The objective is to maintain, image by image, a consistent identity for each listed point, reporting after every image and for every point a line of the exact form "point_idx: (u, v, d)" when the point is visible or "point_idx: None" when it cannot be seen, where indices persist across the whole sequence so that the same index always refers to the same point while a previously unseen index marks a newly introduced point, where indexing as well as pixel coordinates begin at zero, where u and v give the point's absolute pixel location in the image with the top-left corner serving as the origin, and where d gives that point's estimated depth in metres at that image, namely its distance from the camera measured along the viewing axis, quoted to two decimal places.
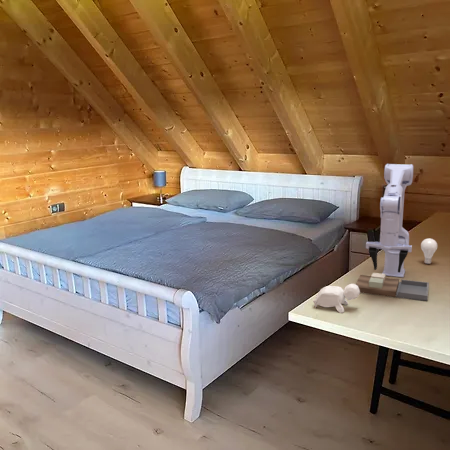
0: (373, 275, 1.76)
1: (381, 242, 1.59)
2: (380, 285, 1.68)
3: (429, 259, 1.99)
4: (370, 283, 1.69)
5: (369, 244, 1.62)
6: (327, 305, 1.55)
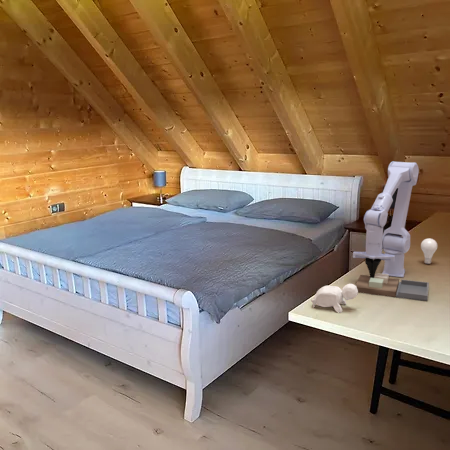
0: (376, 275, 1.75)
1: (366, 252, 1.74)
2: (380, 285, 1.68)
3: (429, 259, 1.99)
4: (370, 283, 1.69)
5: (356, 254, 1.77)
6: (325, 305, 1.55)
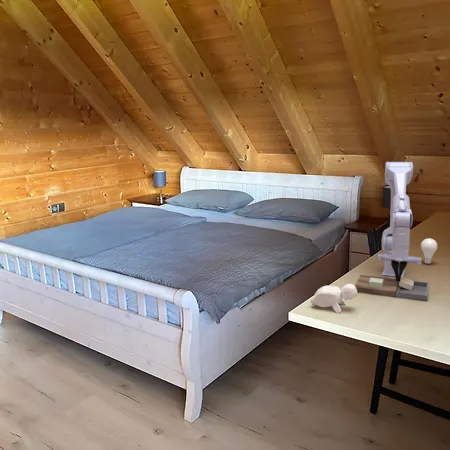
0: (402, 280, 1.72)
1: (392, 254, 1.70)
2: (380, 285, 1.68)
3: (429, 259, 1.99)
4: (370, 283, 1.69)
5: (381, 256, 1.73)
6: (324, 305, 1.55)
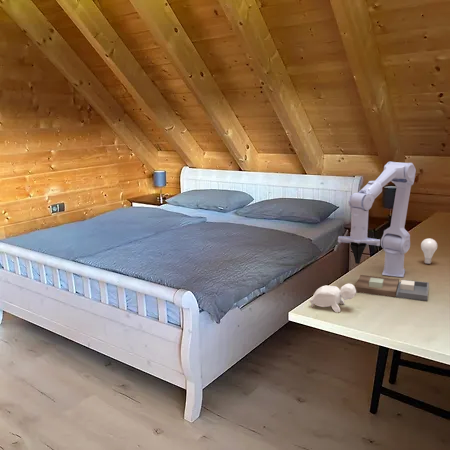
0: (402, 283, 1.72)
1: (351, 236, 1.70)
2: (380, 285, 1.68)
3: (429, 259, 1.99)
4: (370, 283, 1.69)
5: (341, 238, 1.72)
6: (323, 305, 1.55)
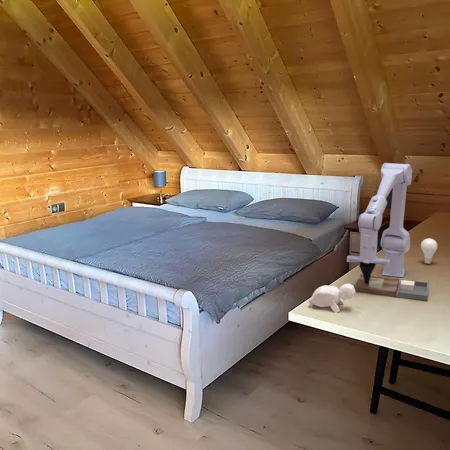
0: (402, 283, 1.72)
1: (361, 256, 1.69)
2: (380, 285, 1.68)
3: (429, 259, 1.99)
4: (370, 283, 1.69)
5: (350, 258, 1.72)
6: (322, 305, 1.56)
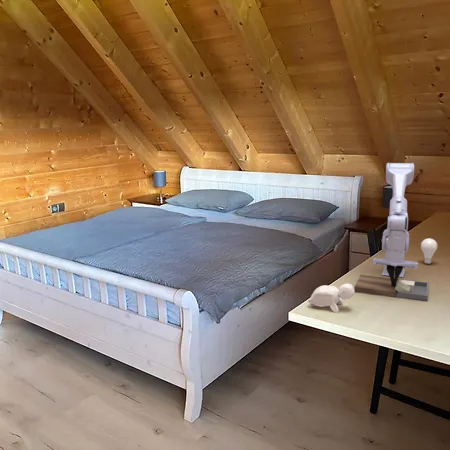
0: None
1: (388, 259, 1.66)
2: None
3: (429, 259, 1.99)
4: (397, 287, 1.66)
5: (376, 261, 1.68)
6: (322, 305, 1.56)
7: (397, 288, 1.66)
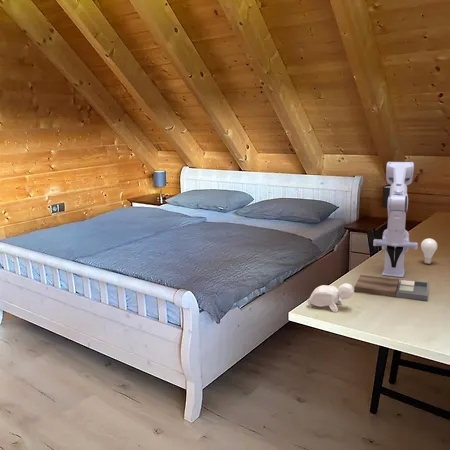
0: (402, 283, 1.72)
1: (388, 240, 1.65)
2: None
3: (429, 259, 1.99)
4: (400, 291, 1.66)
5: (376, 242, 1.68)
6: (321, 304, 1.56)
7: None
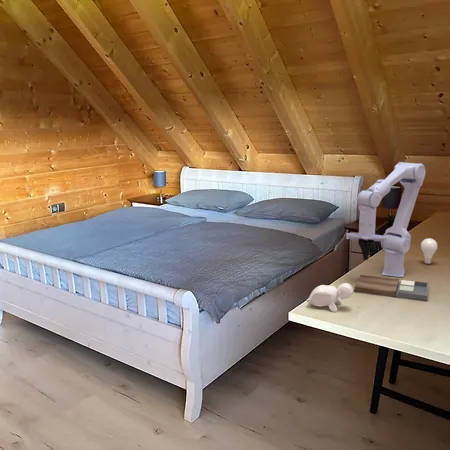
0: (402, 283, 1.72)
1: (360, 233, 1.75)
2: None
3: (429, 259, 1.99)
4: (400, 291, 1.66)
5: (349, 235, 1.77)
6: (320, 304, 1.56)
7: None
